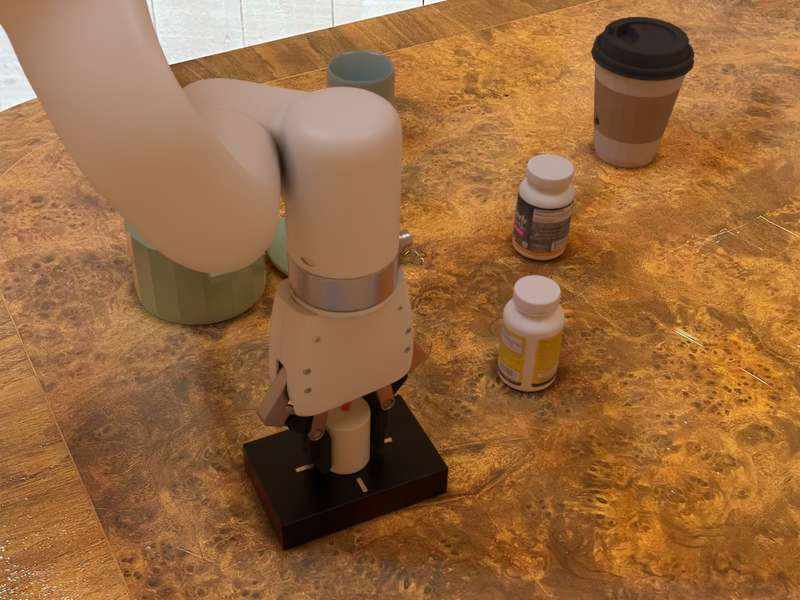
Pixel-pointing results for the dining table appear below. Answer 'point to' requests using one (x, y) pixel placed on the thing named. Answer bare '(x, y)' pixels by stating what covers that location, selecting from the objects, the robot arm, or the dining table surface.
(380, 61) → the cup
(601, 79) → the coffee cup
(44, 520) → the dining table surface
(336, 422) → the knob
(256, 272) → the pot
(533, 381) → the supplement bottle
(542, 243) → the pill bottle
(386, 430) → the panel
